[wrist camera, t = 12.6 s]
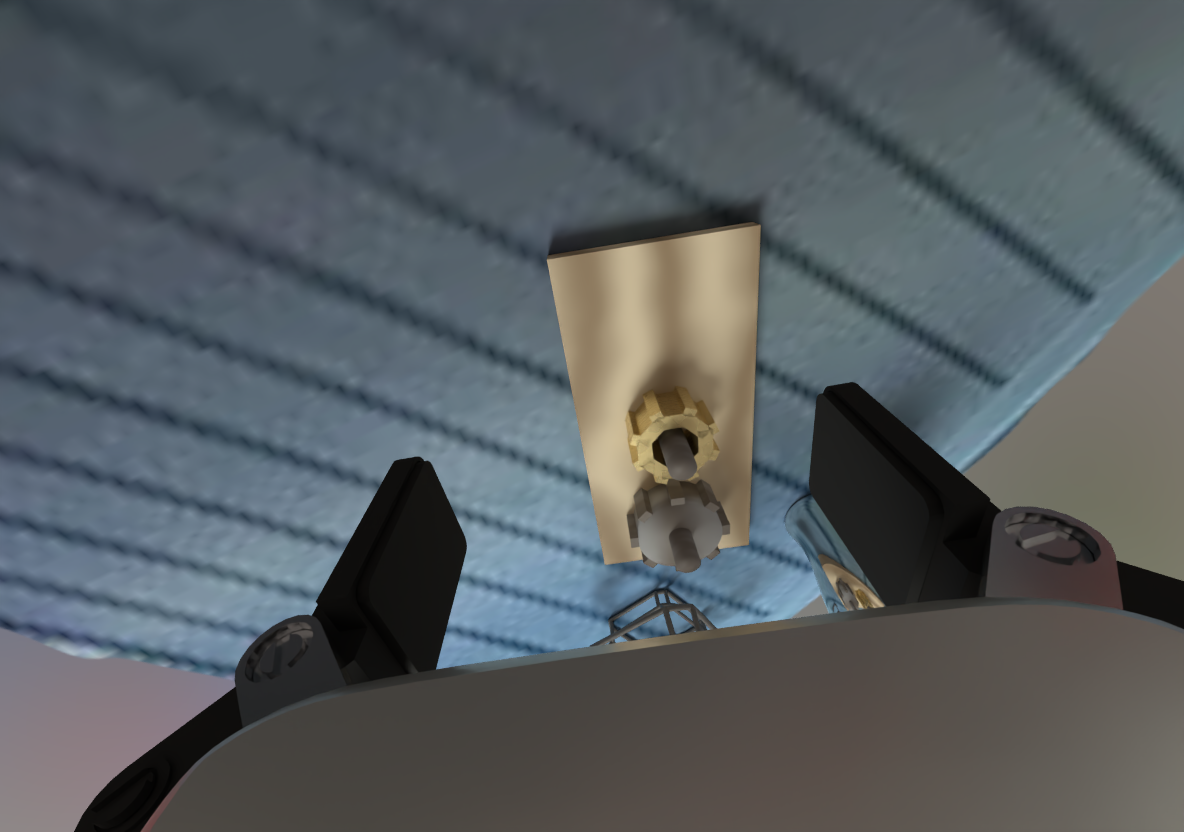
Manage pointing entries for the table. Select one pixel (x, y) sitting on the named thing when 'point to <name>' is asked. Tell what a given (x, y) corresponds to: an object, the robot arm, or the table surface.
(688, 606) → the geometric lantern
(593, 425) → the gear board
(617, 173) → the table surface
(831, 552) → the beer glass
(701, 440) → the brass gear
